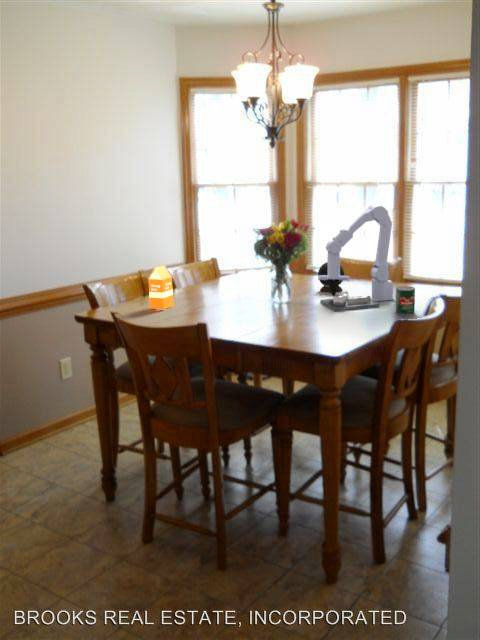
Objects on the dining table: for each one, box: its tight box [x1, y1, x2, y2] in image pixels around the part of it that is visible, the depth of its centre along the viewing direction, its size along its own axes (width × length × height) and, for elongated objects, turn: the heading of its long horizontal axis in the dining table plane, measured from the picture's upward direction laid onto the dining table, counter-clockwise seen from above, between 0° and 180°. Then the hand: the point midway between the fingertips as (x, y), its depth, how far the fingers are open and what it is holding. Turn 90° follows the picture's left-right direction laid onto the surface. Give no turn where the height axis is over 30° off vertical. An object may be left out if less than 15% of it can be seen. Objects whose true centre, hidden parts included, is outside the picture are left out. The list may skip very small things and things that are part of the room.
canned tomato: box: [395, 285, 416, 316], centre depth 296 cm, size 8×8×11 cm
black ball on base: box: [317, 262, 345, 294], centre depth 349 cm, size 13×13×15 cm
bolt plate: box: [319, 294, 380, 312], centre depth 316 cm, size 21×19×6 cm
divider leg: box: [342, 291, 350, 300], centre depth 319 cm, size 11×2×3 cm, turn 159°
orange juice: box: [147, 264, 175, 309], centre depth 323 cm, size 8×9×20 cm
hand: (333, 295), depth 323 cm, fingers closed
